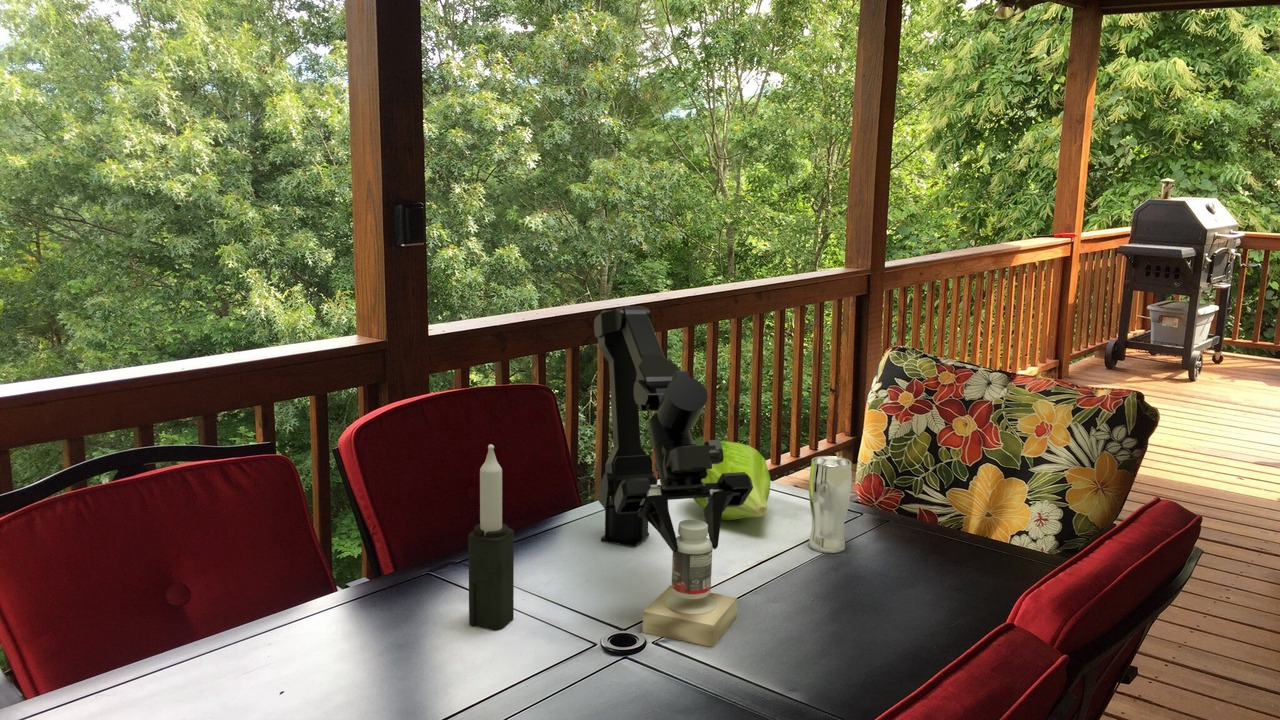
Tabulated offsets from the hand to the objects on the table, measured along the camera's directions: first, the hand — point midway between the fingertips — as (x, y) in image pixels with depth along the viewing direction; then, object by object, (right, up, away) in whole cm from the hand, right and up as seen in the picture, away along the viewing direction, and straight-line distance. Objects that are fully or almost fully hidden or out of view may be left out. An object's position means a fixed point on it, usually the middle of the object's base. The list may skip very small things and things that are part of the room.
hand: (695, 549), depth 134 cm
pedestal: (-1, -11, +3) cm, 11 cm away
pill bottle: (-1, -7, +2) cm, 7 cm away
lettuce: (+9, -4, +48) cm, 49 cm away
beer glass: (+24, -6, +35) cm, 43 cm away
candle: (-28, -11, +3) cm, 30 cm away
